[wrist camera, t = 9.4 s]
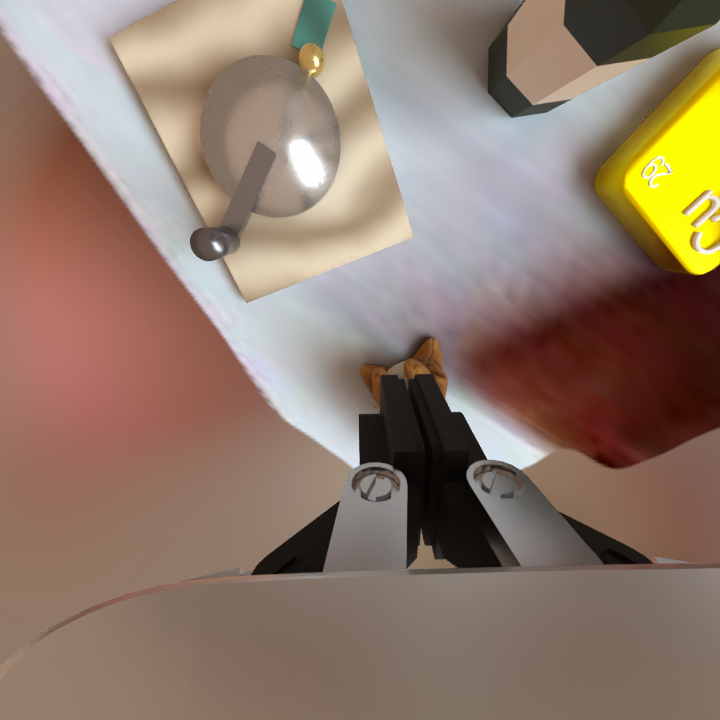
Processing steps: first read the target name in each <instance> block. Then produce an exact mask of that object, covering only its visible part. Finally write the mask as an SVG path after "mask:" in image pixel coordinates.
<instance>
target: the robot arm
mask: <svg viewBox="0 0 720 720" xmlns="http://www.w3.org/2000/svg"><path fill="white" fill-rule="evenodd" d="M359 452H360V466H358V467H356V468H354V469H353V470H352V471H351V472H350V473H349V474H348V475H347V478H346V480H345V483H344V487H343V491H342V495H341V500H340V501H339V502H337V503H336V504H335V505H334V506H332V507H331V508H330V509H328V510H327V511H326V512H324V513H323V514H321V515H320V516H319V517H318V518H316V519H315V520H314V521H312V522H311V523H310V524H308V525H307V526H306V527H304V528H303V529H302V530H300V531H299V532H298V533H296V534H295V535H294V536H292V537H291V538H290V539H289V540H287V541H286V542H285V543H283V544H282V545H281V546H279V547H278V548H277V549H275V550H274V551H273V552H272V553H270V554H269V555H267V556H266V557H265V558H264V559H263V560H262V561H261V562H260V563H259V564H258V565H257V566H256V568H255V569H254V570H251V571H247V572H243V573H242V570H241V567H239V568H235V569H231V570H227V571H222V572H218V573H214V574H210V575H206V576H202V577H198V578H193V579H189V580H185V581H181V582H177V583H170V584H164V585H159V586H155V587H151V588H147V589H143V590H140V591H135V592H132V593H128V594H125V595H122V596H119V597H117V598H114V599H111V600H109V601H106V602H103V603H100V604H98V605H95V606H92V607H90V608H87V609H85V610H83V611H81V612H79V613H77V614H75V615H73V616H70V617H68V618H66V619H64V620H63V621H61V622H59V623H57V624H55V625H53V626H51V627H50V628H48V629H46V630H45V631H44V632H42V633H41V634H39V635H38V636H36V637H35V638H33V639H32V640H30V641H29V642H28V643H26V644H25V645H24V646H23V647H21V648H20V649H19V650H18V651H17V652H16V653H14V654H13V655H12V656H10V658H8V659H7V660H6V661H5V662H4V663H3V664H2V665H1V666H0V720H720V563H688V562H682V561H677V560H671V559H664V558H659V557H654V558H653V560H652V562H651V561H650V560H649V559H648V558H646V557H645V556H644V555H642V554H641V553H639V552H637V551H636V550H634V549H632V548H631V547H629V546H627V545H625V544H623V543H621V542H619V541H617V540H615V539H613V538H611V537H608V536H607V535H605V534H603V533H601V532H599V531H597V530H595V529H593V528H591V527H589V526H587V525H584V524H583V523H581V522H578V521H577V520H574V519H573V518H571V517H569V516H567V515H565V514H563V513H561V512H558V511H557V510H556V508H555V507H554V506H553V505H552V504H551V503H550V502H549V500H548V499H547V498H546V497H545V496H544V495H543V494H542V493H541V491H540V490H539V489H538V488H537V487H536V486H535V484H534V483H533V482H532V481H531V480H530V479H529V478H528V477H527V476H526V475H525V474H524V473H523V472H522V471H521V470H519V469H518V468H516V467H514V466H513V465H510V464H508V463H505V462H502V461H496V460H487V458H486V456H485V454H484V453H483V451H482V449H481V447H480V445H479V443H478V441H477V440H476V438H475V436H474V434H473V432H472V430H471V428H470V427H469V425H468V423H467V421H466V419H465V417H464V415H463V414H462V413H461V412H451V411H450V408H449V406H448V404H447V402H446V400H445V398H444V396H443V394H442V392H441V390H440V388H439V386H438V384H437V382H436V380H435V378H434V376H433V374H415V376H414V379H409V380H408V390H407V386H406V383H405V380H404V379H399V378H398V375H381V376H380V414H359ZM421 530H422V535H423V540H424V543H425V545H426V546H428V545H432V549H433V553H434V558H435V559H446V560H448V561H449V562H451V563H452V564H453V565H455V566H454V568H451V569H450V568H449V569H413V570H412V569H411V570H406V569H407V568H408V567H409V566H410V565H411V564H412V563H413V561H414V560H415V559H416V558H417V549H418V546H419V545H420V533H421Z"/></svg>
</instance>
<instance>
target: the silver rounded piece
mask: <svg viewBox="0 0 720 720" xmlns="http://www.w3.org/2000/svg"><path fill="white" fill-rule="evenodd" d="M298 60H299V65H300V66H299V65H297V64H295V63H293V62H291V61H289V60H287V59H284V58H281V57H278V56H272V55H254V56H249V57H246V58H243V59H240V60H238V61H236V62H234V63H233V64H231V65H229V66H228V67H227V68H226V69H224V70H223V71H222V72H221V73H220V74H219V75H218V77H217V78H216V79H215V80H214V82H213V83H212V85H211V87H210V88H209V90H208V93H207V95H206V97H205V100H204V103H203V107H202V112H201V118H200V138H201V144H202V150H203V153H204V157H205V160H206V163H207V165H208V167H209V170H210V172H211V174H212V175H213V177H214V179H215V180H216V182H217V183H218V185H219V186H220V188H221V189H222V190H223V191H224V192H225V193H226V194H227V195H228V196H229V197H230V198H231V201H230V204H229V206H228V208H227V210H226V212H225V215H224V217H223V219H222V221H221V224H220V226H217V227H208V228H200V229H197V230H196V231H194V232H193V234H192V235H191V238H190V245H191V249H192V251H193V252H194V254H195V255H196V256H197V257H198V258H200V259H202V260H205V261H213V260H216V259H219V258H222V257H225V256H228V255H230V254H233V253H235V252H236V251H237V250H238V249H239V247H240V238H241V236H242V233H243V231H244V229H245V227H246V225H247V223H248V221H249V219H250V217H251V215H252V213H255V214H258V215H262V216H266V217H273V218H281V217H291V216H296V215H299V214H302V213H304V212H306V211H308V210H310V209H312V208H313V207H314V206H316V205H317V204H318V203H319V202H320V201H321V200H322V199H323V198H324V197H325V196H326V195H327V193H328V192H329V190H330V189H331V187H332V185H333V183H334V181H335V179H336V176H337V173H338V170H339V166H340V161H341V137H340V130H339V125H338V121H337V117H336V114H335V111H334V109H333V106H332V104H331V102H330V100H329V98H328V96H327V94H326V93H325V91H324V90H323V88H322V87H321V85H320V84H319V83H318V82H317V81H316V80H315V79H314V78H316V77H318V76H320V75H321V74H322V72H323V71H324V68H325V63H326V61H325V55H324V52H323V50H322V49H321V47H320V46H319V45H317V44H315V43H312V42H309V43H306V44H305V45H303V46H302V48H301V49H300V52H299V57H298Z"/></svg>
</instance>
